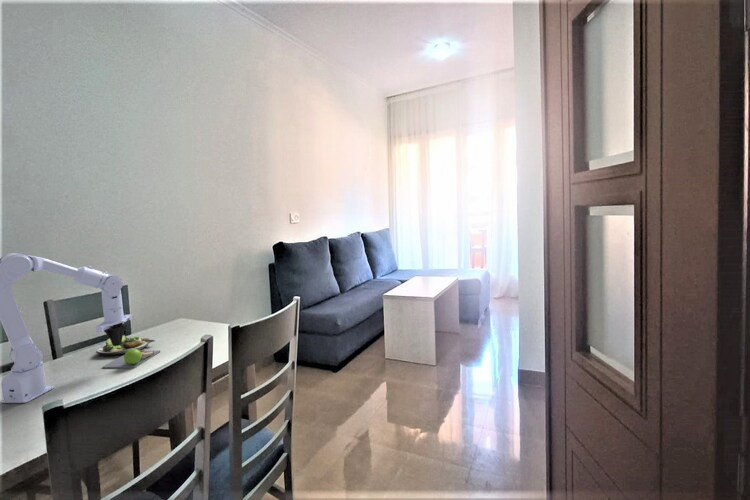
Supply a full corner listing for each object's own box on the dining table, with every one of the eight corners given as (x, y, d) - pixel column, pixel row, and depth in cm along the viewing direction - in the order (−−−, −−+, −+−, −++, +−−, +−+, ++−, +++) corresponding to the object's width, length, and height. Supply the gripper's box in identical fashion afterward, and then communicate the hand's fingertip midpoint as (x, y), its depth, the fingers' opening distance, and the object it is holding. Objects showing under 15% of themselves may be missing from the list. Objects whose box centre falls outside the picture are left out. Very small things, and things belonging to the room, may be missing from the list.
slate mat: (134, 368, 132) (134, 366, 132) (102, 368, 133) (102, 366, 133) (160, 351, 147) (160, 350, 147) (131, 352, 148) (131, 350, 148)
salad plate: (163, 338, 162) (162, 328, 161) (144, 352, 144) (143, 341, 144) (116, 343, 159) (115, 332, 159) (90, 358, 142) (88, 346, 141)
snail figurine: (141, 352, 132) (156, 345, 144) (122, 349, 131) (139, 342, 143) (138, 367, 132) (153, 359, 144) (119, 364, 131) (135, 356, 143)
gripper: (108, 313, 123) (112, 352, 125) (137, 302, 138) (141, 337, 139) (88, 314, 123) (92, 353, 125) (119, 303, 138) (123, 338, 139)
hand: (117, 345), depth 132 cm, fingers closed
